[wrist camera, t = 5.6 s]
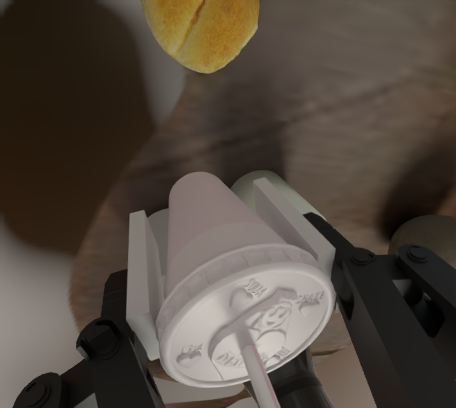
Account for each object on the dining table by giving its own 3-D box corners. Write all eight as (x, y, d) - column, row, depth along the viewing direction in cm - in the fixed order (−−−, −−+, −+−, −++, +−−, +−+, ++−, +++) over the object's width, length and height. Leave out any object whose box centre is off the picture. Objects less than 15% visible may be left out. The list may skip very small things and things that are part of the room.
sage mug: (289, 223, 36) (328, 270, 29) (235, 244, 35) (261, 297, 28) (282, 160, 30) (329, 198, 23) (218, 183, 29) (246, 229, 22)
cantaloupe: (428, 180, 40) (557, 240, 28) (437, 229, 48) (540, 292, 36) (353, 235, 41) (443, 316, 29) (374, 274, 50) (452, 350, 37)
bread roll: (181, -106, 17) (192, -140, 14) (265, 9, 22) (288, 3, 19) (114, 6, 19) (110, -2, 16) (205, 89, 24) (216, 97, 21)
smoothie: (130, 225, 16) (119, 657, 5) (171, 131, 14) (329, 502, 3) (217, 246, 19) (339, 541, 8) (262, 172, 17) (519, 427, 6)
